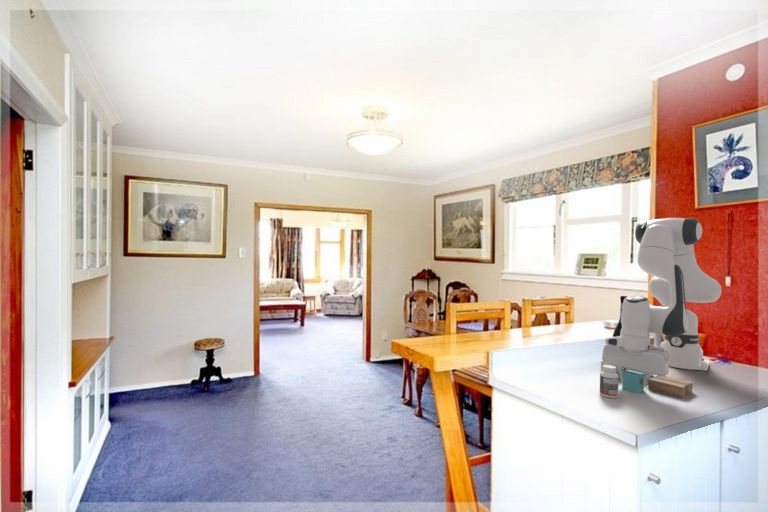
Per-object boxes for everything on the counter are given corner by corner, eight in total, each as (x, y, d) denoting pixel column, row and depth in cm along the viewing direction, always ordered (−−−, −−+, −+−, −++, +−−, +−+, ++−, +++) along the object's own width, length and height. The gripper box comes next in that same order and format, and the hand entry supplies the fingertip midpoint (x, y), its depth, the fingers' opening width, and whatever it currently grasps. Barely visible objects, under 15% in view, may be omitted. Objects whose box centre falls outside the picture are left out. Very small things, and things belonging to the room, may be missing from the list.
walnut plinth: (659, 385, 147) (659, 374, 147) (692, 393, 139) (692, 382, 139) (648, 390, 141) (648, 379, 141) (682, 399, 133) (682, 387, 133)
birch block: (606, 374, 158) (607, 359, 158) (620, 378, 154) (620, 362, 154) (600, 376, 155) (601, 361, 155) (614, 380, 151) (614, 364, 151)
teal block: (628, 386, 144) (628, 369, 144) (643, 390, 140) (644, 373, 140) (622, 388, 141) (622, 371, 141) (637, 393, 137) (638, 375, 137)
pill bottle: (600, 391, 138) (601, 363, 138) (618, 395, 135) (619, 366, 134) (598, 396, 133) (599, 366, 133) (617, 399, 130) (618, 369, 130)
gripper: (672, 347, 134) (671, 389, 134) (608, 336, 150) (607, 373, 151) (665, 350, 130) (664, 392, 131) (600, 338, 147) (599, 376, 147)
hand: (633, 382), depth 141 cm, fingers closed on teal block, 5 cm apart
